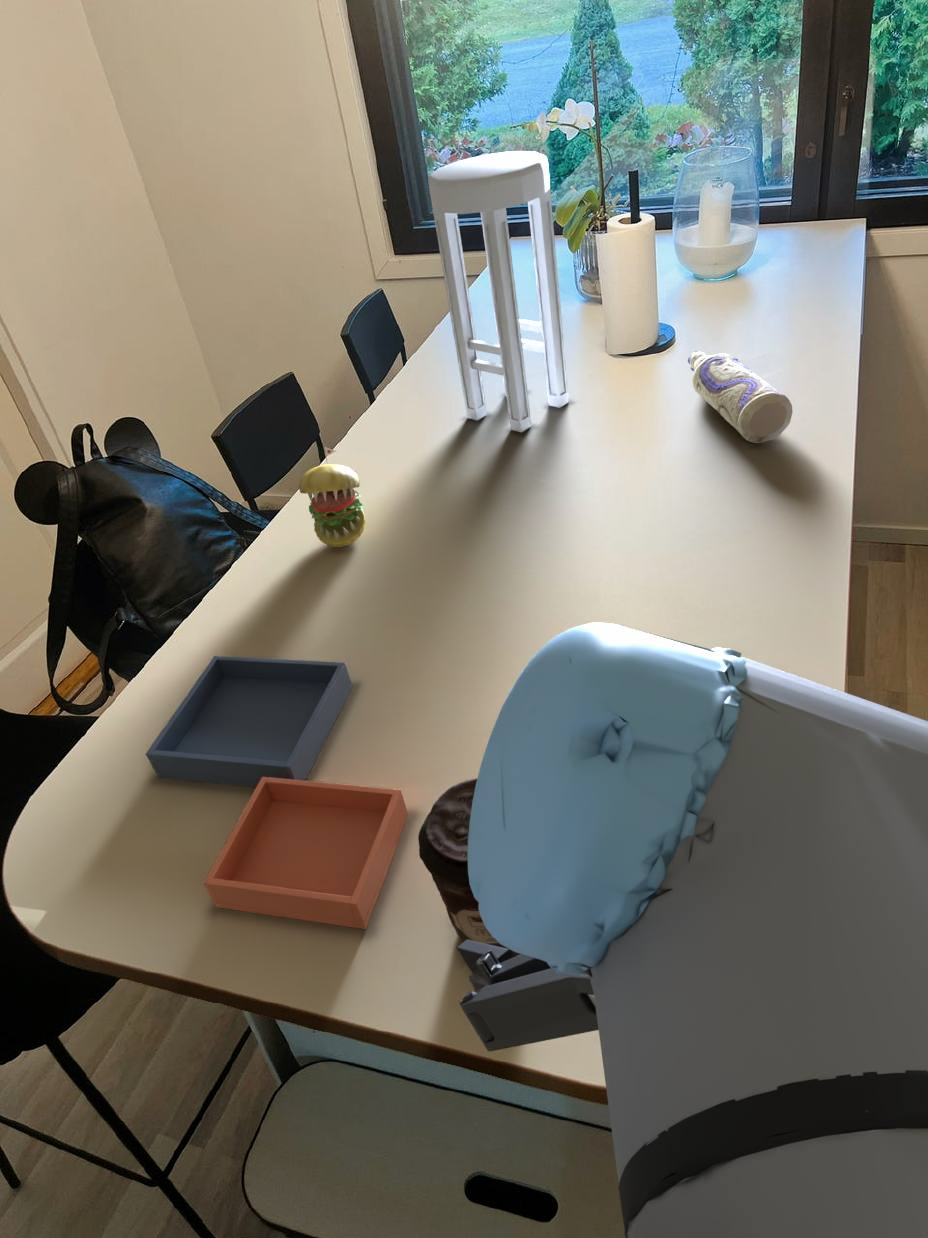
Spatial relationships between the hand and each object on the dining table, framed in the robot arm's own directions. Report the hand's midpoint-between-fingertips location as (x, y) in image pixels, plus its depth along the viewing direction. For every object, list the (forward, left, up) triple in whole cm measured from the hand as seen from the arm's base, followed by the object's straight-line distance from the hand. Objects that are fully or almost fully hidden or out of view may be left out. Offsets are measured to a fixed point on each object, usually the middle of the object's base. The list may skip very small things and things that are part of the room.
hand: (565, 891), depth 51 cm
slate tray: (-36, +23, -14) cm, 45 cm away
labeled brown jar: (-7, +5, -14) cm, 17 cm away
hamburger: (-40, +58, -14) cm, 72 cm away
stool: (-24, +94, -14) cm, 98 cm away
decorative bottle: (+9, +92, -14) cm, 94 cm away
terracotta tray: (-24, +9, -14) cm, 29 cm away
